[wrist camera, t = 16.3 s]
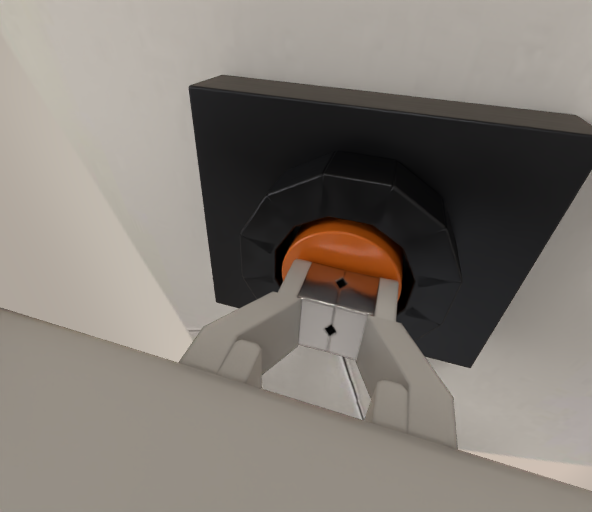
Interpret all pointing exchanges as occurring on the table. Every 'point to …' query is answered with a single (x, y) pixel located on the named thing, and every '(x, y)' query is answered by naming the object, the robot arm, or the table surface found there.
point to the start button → (347, 249)
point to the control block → (387, 193)
